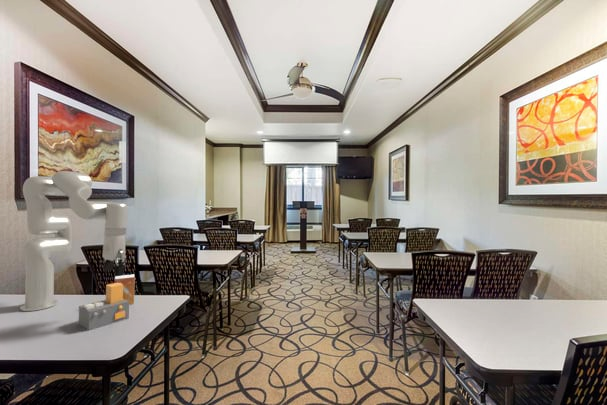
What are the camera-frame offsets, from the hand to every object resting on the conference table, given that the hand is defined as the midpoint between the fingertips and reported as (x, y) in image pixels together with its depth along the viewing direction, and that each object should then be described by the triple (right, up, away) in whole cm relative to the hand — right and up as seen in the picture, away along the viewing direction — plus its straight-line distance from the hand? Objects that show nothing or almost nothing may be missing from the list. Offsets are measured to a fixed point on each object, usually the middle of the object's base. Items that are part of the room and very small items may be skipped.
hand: (113, 272), depth 117 cm
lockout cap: (0, -12, 0) cm, 12 cm away
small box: (-6, -19, +17) cm, 26 cm away
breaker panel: (-2, -19, -3) cm, 19 cm away
